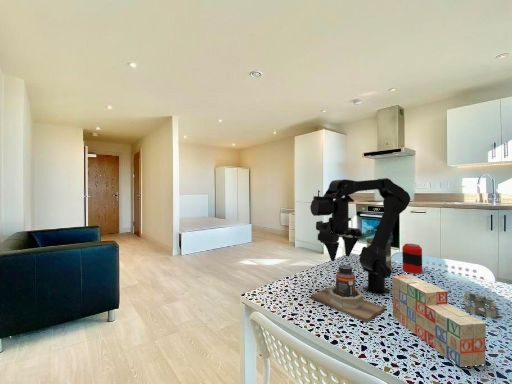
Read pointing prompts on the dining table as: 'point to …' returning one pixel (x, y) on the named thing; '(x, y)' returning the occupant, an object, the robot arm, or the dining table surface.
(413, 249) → the soda can
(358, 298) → the collar board
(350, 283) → the supplement bottle
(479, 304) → the egg carton
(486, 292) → the dining table surface
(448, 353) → the stack of blocks
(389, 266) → the coffee can
